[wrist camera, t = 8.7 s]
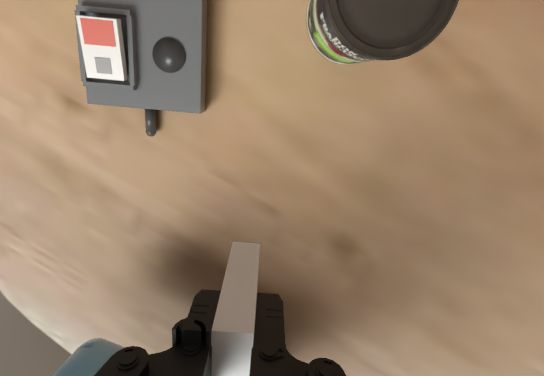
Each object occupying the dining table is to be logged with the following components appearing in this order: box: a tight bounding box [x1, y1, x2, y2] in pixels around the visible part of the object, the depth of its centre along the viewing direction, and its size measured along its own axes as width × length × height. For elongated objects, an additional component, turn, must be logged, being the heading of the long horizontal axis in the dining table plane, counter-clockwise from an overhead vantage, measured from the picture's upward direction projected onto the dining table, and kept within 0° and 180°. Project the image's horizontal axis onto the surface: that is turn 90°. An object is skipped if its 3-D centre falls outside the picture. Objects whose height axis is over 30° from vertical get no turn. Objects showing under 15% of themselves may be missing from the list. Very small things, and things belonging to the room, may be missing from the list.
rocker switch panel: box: [75, 0, 207, 136], centre depth 35 cm, size 30×13×4 cm, turn 175°
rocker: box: [76, 15, 128, 81], centre depth 35 cm, size 6×4×1 cm, turn 175°
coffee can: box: [307, 0, 459, 65], centre depth 31 cm, size 10×10×14 cm
